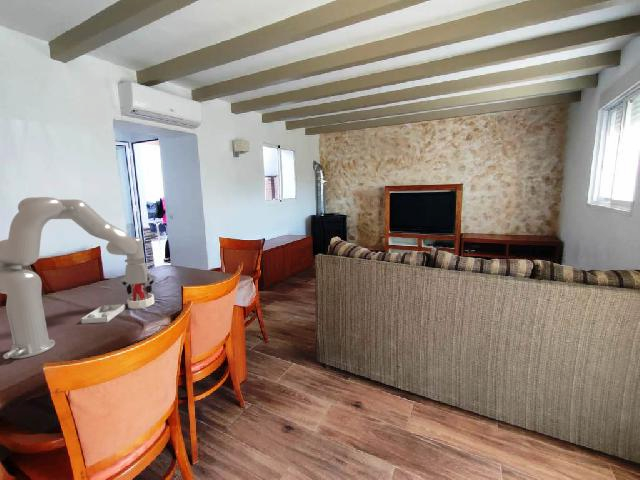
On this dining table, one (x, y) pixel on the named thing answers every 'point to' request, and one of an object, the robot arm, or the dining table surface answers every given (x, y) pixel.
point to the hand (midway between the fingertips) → (139, 292)
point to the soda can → (139, 291)
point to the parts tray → (99, 311)
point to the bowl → (140, 302)
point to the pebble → (106, 308)
